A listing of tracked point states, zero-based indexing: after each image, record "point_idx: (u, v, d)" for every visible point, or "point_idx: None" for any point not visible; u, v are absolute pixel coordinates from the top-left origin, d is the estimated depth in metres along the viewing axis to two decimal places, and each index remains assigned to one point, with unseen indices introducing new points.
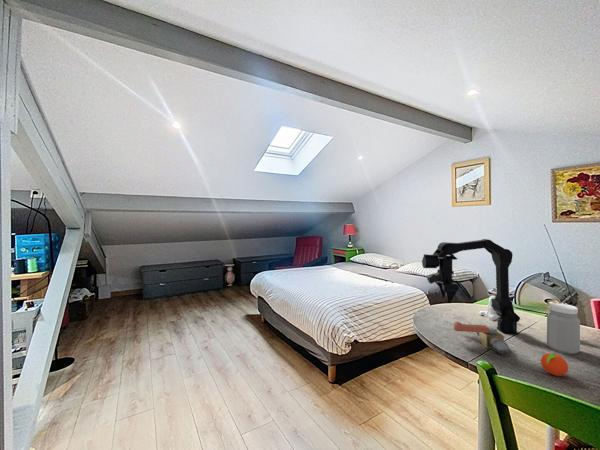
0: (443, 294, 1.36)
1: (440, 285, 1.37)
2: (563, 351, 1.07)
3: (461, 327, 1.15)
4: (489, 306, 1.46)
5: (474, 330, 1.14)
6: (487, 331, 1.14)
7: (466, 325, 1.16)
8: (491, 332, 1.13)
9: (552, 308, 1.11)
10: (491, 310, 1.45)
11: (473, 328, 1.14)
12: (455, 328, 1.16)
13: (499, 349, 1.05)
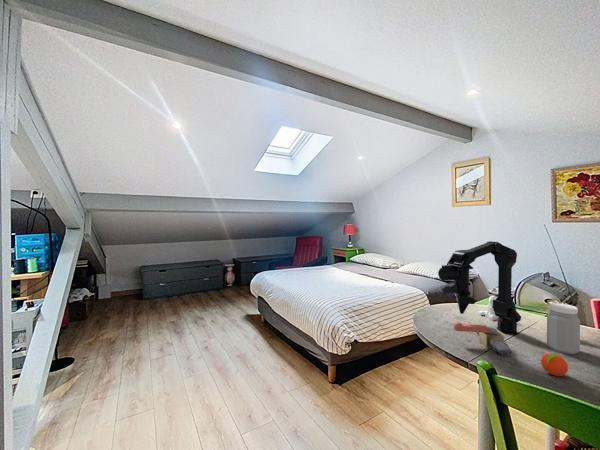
0: None
1: None
2: (563, 351, 1.07)
3: (461, 327, 1.15)
4: (489, 306, 1.46)
5: (474, 330, 1.14)
6: (487, 331, 1.14)
7: (466, 325, 1.16)
8: (491, 332, 1.13)
9: (552, 308, 1.11)
10: (491, 310, 1.45)
11: (473, 328, 1.14)
12: (455, 328, 1.16)
13: (499, 349, 1.05)
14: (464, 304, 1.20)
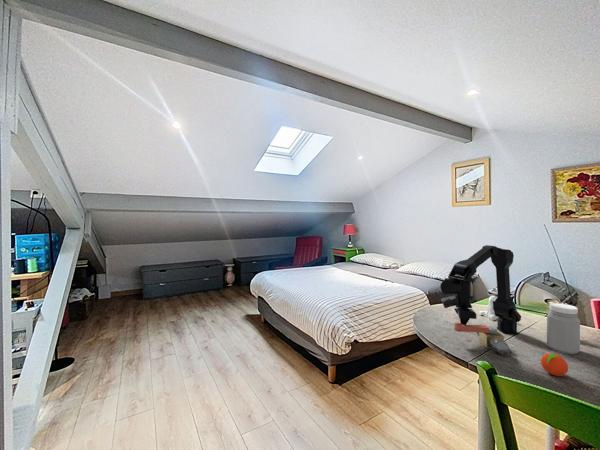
0: None
1: None
2: (563, 351, 1.07)
3: (462, 327, 1.15)
4: (489, 306, 1.46)
5: (474, 330, 1.14)
6: (487, 331, 1.13)
7: (466, 325, 1.16)
8: (491, 332, 1.13)
9: (552, 308, 1.11)
10: (491, 310, 1.45)
11: (473, 328, 1.14)
12: (456, 328, 1.16)
13: (499, 349, 1.05)
14: (465, 318, 1.17)
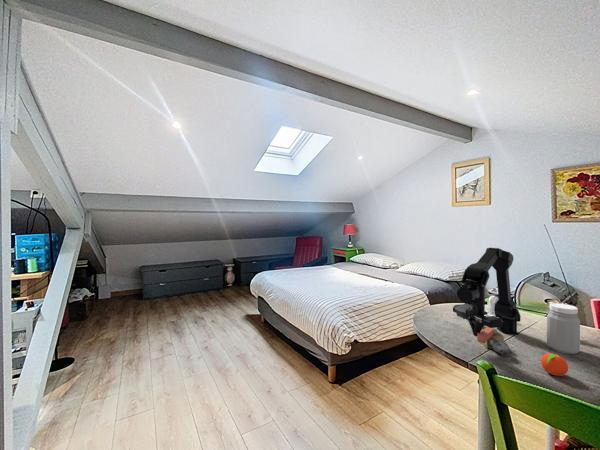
0: None
1: None
2: (563, 351, 1.07)
3: (485, 337, 1.06)
4: (489, 306, 1.46)
5: (489, 336, 1.09)
6: (493, 332, 1.12)
7: (484, 333, 1.08)
8: (495, 332, 1.12)
9: (552, 308, 1.11)
10: (491, 310, 1.45)
11: (489, 334, 1.09)
12: (482, 340, 1.05)
13: (499, 349, 1.05)
14: (480, 325, 1.08)
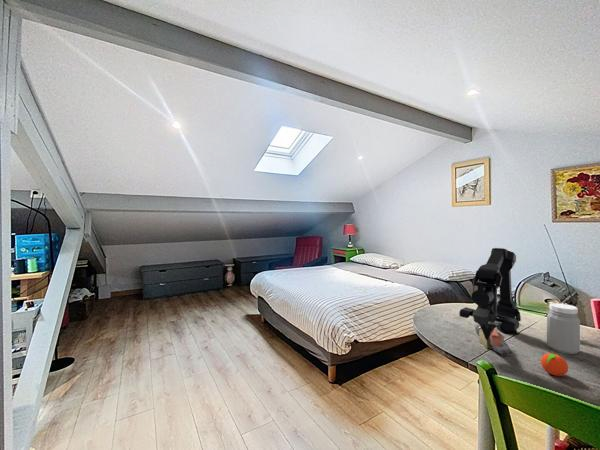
0: None
1: (484, 324, 1.06)
2: (563, 351, 1.07)
3: None
4: None
5: None
6: None
7: (495, 335, 1.06)
8: None
9: (552, 308, 1.11)
10: None
11: None
12: (499, 344, 1.02)
13: (499, 349, 1.05)
14: (492, 328, 1.05)
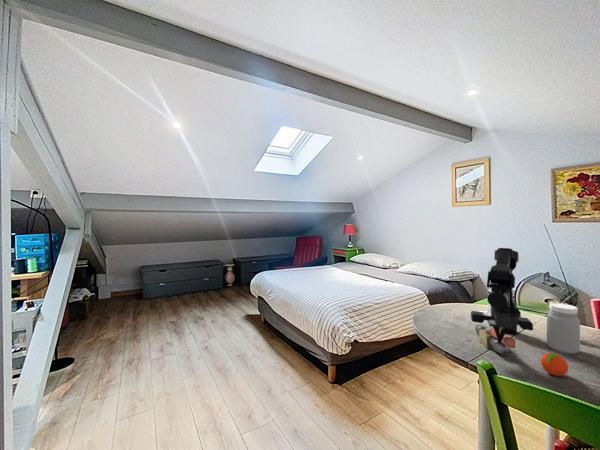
0: None
1: (498, 327, 1.03)
2: (563, 351, 1.07)
3: None
4: (489, 306, 1.46)
5: None
6: None
7: (505, 336, 1.05)
8: None
9: (552, 308, 1.11)
10: None
11: None
12: (514, 345, 1.00)
13: (499, 349, 1.05)
14: None
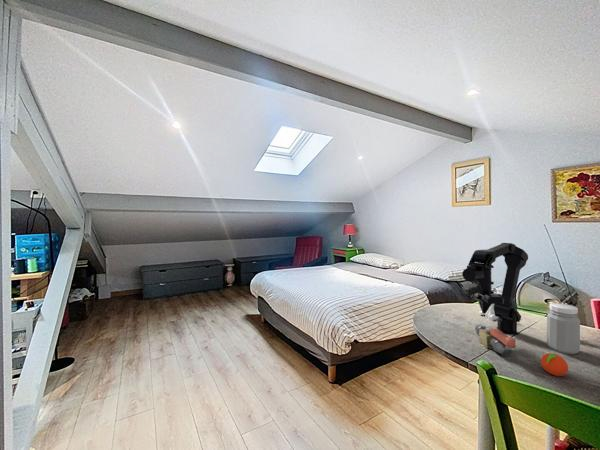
0: None
1: None
2: (563, 351, 1.07)
3: None
4: None
5: None
6: None
7: (505, 336, 1.05)
8: None
9: (552, 308, 1.11)
10: (491, 310, 1.45)
11: None
12: (514, 345, 1.00)
13: (499, 349, 1.05)
14: (487, 303, 1.19)
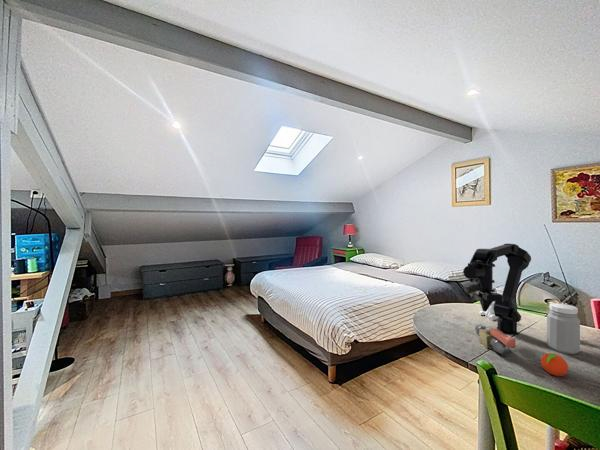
0: None
1: None
2: (563, 351, 1.07)
3: None
4: (489, 306, 1.46)
5: None
6: None
7: (505, 336, 1.05)
8: None
9: (552, 308, 1.11)
10: (491, 310, 1.45)
11: None
12: (514, 345, 1.00)
13: (499, 349, 1.05)
14: (488, 302, 1.20)
